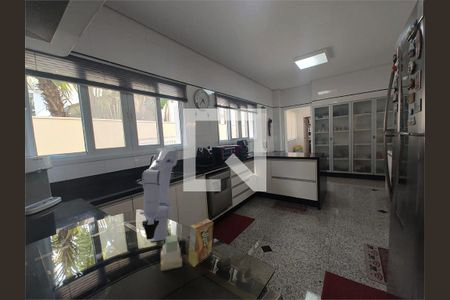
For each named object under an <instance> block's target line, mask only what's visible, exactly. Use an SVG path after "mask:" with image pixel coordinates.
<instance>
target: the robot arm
mask: <svg viewBox="0 0 450 300" xmlns="http://www.w3.org/2000/svg"><path fill="white" fill-rule="evenodd" d="M178 155H179V150H178V149H177V148H169V147H157V150H156V158H157V159H155V160H153V162H152V163H151V165H150V167H149V168H148V169H146V170H145V169H144V171H143V173H142V176H141V182H142V189H143V209H142V210H139V215H143V216H144V218H145V220H142V222H141V223H142V224H141V225H142V228H143V229H144V231H145V237H146V240H149V242H158V241H163V240H164V241H165V240H166V237H167V236H169V230H168V227H169V225H168V224H169V219H170V218H171V217H172V212H173V202H172V200H170V199H169V197H168V196H169V190H170V189H169V188H170V182H171V176H172V175H171V174H172V170H173V168H174V167H175V166H176V165H177V164H178ZM167 230H168V232H167Z"/></svg>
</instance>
